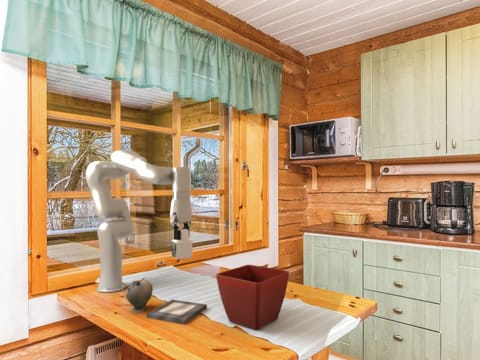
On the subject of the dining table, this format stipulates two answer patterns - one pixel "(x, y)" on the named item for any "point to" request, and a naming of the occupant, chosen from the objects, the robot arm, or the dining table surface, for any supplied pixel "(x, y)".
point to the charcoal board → (177, 311)
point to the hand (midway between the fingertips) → (181, 238)
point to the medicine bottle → (182, 246)
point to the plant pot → (252, 294)
